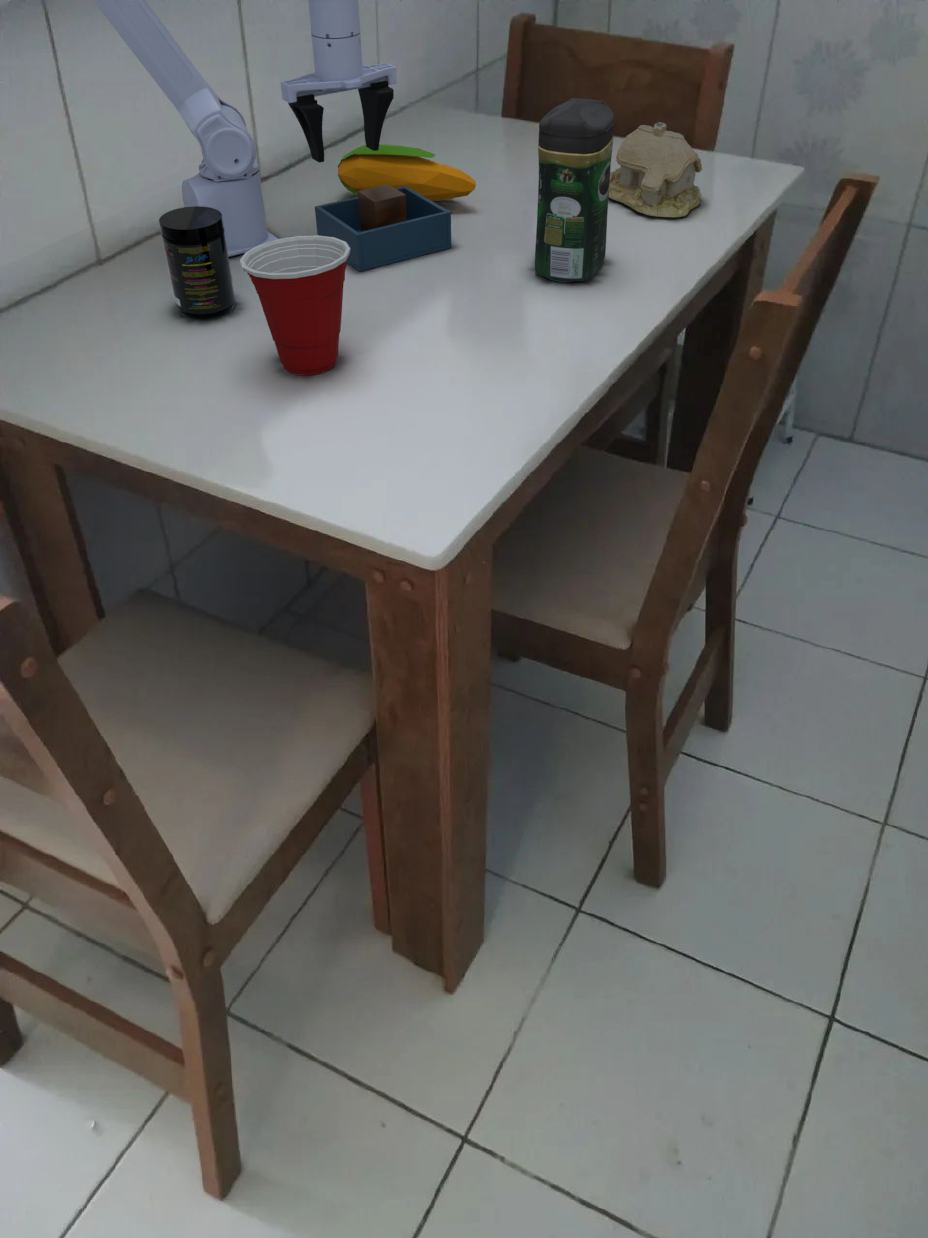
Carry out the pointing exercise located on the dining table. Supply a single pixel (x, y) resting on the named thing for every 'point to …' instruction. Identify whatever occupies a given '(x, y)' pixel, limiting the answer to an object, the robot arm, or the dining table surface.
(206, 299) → the supplement container
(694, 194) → the ceramic model
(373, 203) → the block
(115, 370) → the dining table surface
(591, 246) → the coffee jar
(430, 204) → the bin
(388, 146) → the corn
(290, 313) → the plastic cup
